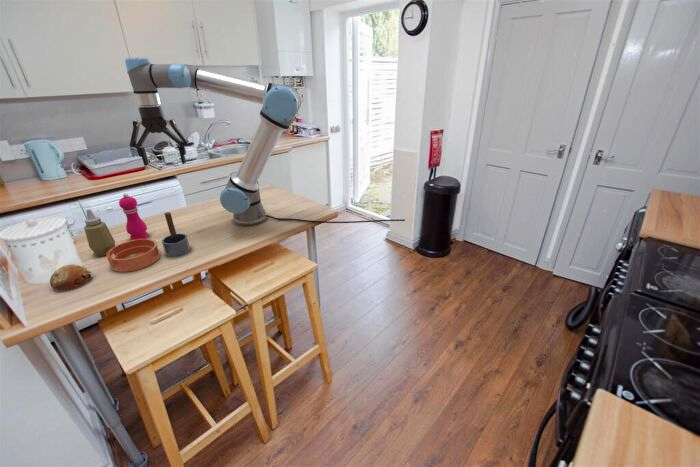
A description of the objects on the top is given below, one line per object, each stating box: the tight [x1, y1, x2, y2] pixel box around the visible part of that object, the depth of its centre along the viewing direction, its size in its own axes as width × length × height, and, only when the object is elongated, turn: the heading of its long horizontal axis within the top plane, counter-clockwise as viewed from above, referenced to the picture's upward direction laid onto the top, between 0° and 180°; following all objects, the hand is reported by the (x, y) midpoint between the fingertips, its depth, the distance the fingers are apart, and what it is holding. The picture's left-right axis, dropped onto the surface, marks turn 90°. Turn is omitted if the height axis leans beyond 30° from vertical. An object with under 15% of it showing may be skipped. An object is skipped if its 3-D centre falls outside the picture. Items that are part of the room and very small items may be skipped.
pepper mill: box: [118, 193, 149, 240], centre depth 130 cm, size 7×7×20 cm
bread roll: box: [49, 263, 92, 292], centre depth 105 cm, size 10×10×8 cm
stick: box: [164, 211, 179, 243], centre depth 120 cm, size 2×2×16 cm
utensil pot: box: [161, 233, 191, 258], centre depth 123 cm, size 9×9×6 cm
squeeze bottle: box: [83, 208, 116, 257], centre depth 120 cm, size 8×8×18 cm
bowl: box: [105, 238, 161, 273], centre depth 116 cm, size 16×16×6 cm
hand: (165, 164), depth 125 cm, fingers open, 13 cm apart
